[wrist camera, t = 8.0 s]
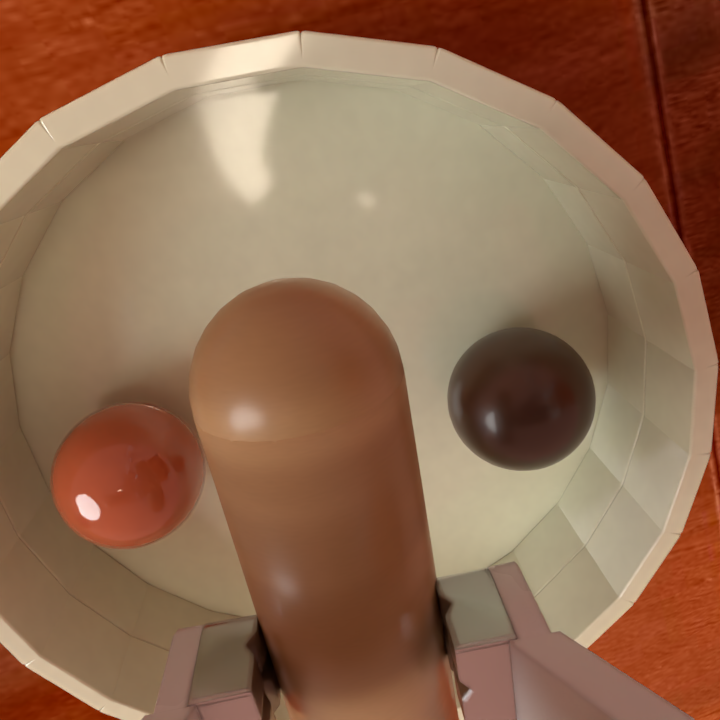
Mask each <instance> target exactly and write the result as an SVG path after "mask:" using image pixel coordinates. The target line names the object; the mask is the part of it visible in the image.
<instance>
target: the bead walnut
mask: <svg viewBox="0 0 720 720" xmlns="http://www.w3.org/2000/svg"><path fill="white" fill-rule="evenodd" d="M447 400H448V411H449V416H450V418H451V421H452V424H453V427H454V429H455V431H456V433H457V434H458V436H459V437H460V439H461V440H462V442H463V443H464V444H465V445H466V446H467V447H468V448H469V449H470V450H471V451H472V452H473V453H474V454H475V455H477V456H478V457H479V458H481V459H482V460H484V461H486V462H488V463H490V464H492V465H494V466H497V467H500V468H504V469H508V470H514V471H531V470H538V469H542V468H546V467H549V466H551V465H554V464H556V463H558V462H560V461H561V460H563V459H564V458H566V457H567V456H569V455H570V454H571V453H572V452H573V451H574V450H575V449H576V448H577V447H578V446H579V445H580V444H581V443H582V441H583V440H584V438H585V437H586V435H587V433H588V431H589V429H590V427H591V424H592V421H593V419H594V414H595V406H596V393H595V387H594V383H593V379H592V376H591V374H590V371H589V369H588V367H587V365H586V364H585V362H584V361H583V359H582V358H581V356H580V355H579V354H578V353H577V352H576V351H575V350H574V349H573V348H572V347H571V346H570V345H569V344H568V343H566V342H565V341H563V340H562V339H560V338H558V337H557V336H555V335H553V334H550V333H548V332H545V331H542V330H538V329H534V328H525V327H514V328H506V329H502V330H498V331H496V332H493V333H490V334H488V335H486V336H484V337H483V338H481V339H479V340H478V341H476V342H475V343H474V344H473V345H471V346H470V347H469V348H468V349H467V350H466V351H465V352H464V354H463V355H462V356H461V357H460V359H459V360H458V362H457V363H456V365H455V367H454V369H453V372H452V374H451V377H450V381H449V386H448V393H447Z"/></svg>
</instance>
